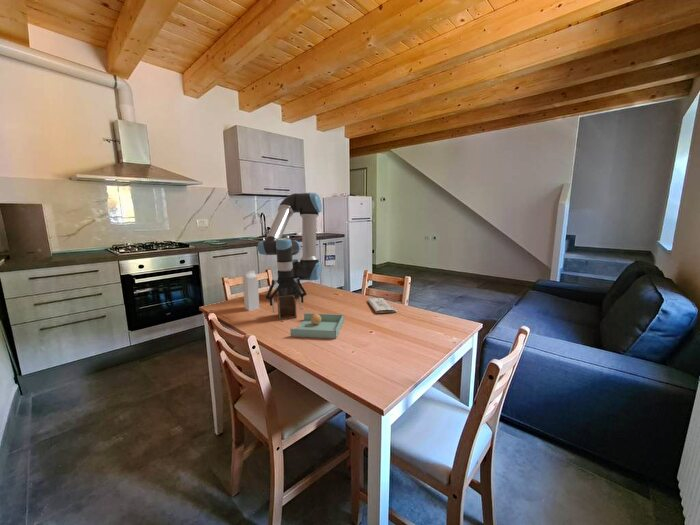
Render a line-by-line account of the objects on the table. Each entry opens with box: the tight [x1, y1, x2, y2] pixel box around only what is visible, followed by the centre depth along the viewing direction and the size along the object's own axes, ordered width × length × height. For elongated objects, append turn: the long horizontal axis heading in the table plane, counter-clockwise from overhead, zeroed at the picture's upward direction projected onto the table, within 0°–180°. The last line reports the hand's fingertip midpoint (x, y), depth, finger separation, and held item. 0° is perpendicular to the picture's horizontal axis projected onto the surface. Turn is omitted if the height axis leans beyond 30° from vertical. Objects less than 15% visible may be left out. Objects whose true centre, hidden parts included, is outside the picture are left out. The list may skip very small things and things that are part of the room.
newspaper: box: [367, 297, 398, 314], centre depth 161 cm, size 23×12×2 cm, turn 9°
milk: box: [242, 269, 260, 312], centre depth 157 cm, size 6×6×22 cm
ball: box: [311, 313, 321, 325], centre depth 136 cm, size 5×5×5 cm
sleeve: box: [276, 295, 298, 321], centre depth 146 cm, size 8×8×10 cm
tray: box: [289, 312, 345, 340], centre depth 131 cm, size 20×20×4 cm
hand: (287, 310), depth 146 cm, fingers open, 13 cm apart
